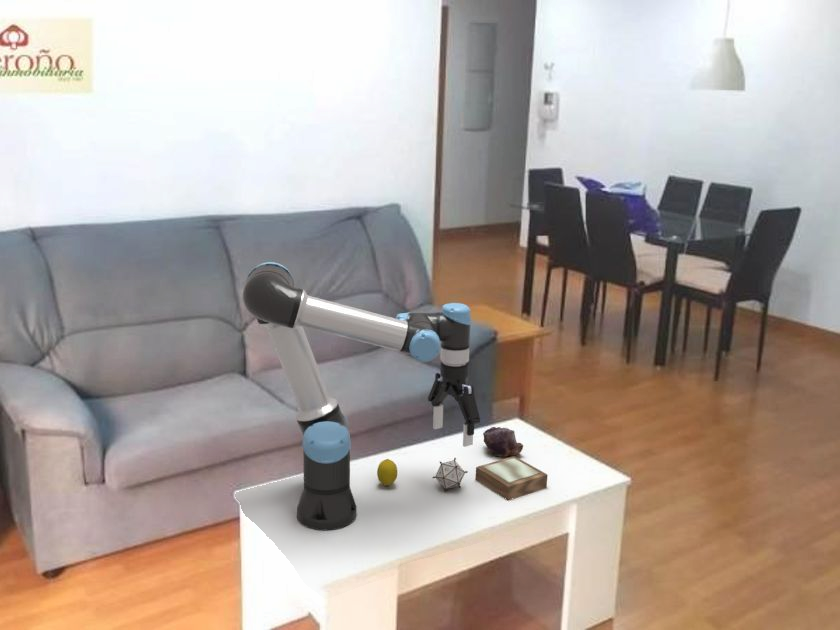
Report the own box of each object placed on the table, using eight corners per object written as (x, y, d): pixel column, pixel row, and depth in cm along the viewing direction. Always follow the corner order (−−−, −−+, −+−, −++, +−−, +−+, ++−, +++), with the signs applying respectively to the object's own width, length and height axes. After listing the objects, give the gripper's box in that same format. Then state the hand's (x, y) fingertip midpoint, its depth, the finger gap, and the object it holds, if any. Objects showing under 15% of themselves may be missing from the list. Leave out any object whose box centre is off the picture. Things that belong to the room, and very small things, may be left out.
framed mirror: (507, 500, 231) (508, 485, 230) (475, 480, 242) (476, 466, 241) (546, 487, 239) (547, 473, 237) (513, 468, 250) (514, 455, 248)
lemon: (385, 492, 233) (385, 465, 231) (372, 484, 237) (373, 458, 235) (401, 486, 237) (401, 460, 235) (388, 479, 241) (389, 453, 239)
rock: (498, 448, 266) (475, 456, 260) (496, 421, 265) (474, 428, 259) (527, 454, 258) (504, 463, 251) (525, 427, 257) (503, 434, 250)
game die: (442, 501, 237) (421, 474, 235) (455, 480, 243) (434, 454, 241) (465, 496, 231) (444, 468, 229) (478, 474, 237) (457, 447, 235)
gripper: (495, 372, 219) (492, 449, 225) (438, 347, 239) (436, 418, 245) (472, 378, 215) (469, 456, 221) (416, 351, 235) (415, 424, 241)
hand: (452, 436), depth 233 cm, fingers open, 13 cm apart
